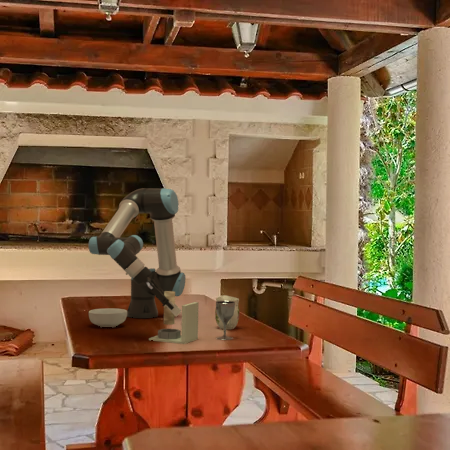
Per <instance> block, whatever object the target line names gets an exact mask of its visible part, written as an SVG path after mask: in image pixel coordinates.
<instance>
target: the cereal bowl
mask: <svg viewBox="0 0 450 450" xmlns="http://www.w3.org/2000/svg"><path fill="white" fill-rule="evenodd" d="M127 310H128V309H123V308H114V307H113V308H108V307H107V308H95V309H91V310H89V311H88V319H89V321H90V322H91V323H92V324H94V325H96V326H98V327H99V326H100V328H102V327H112V328H116V326H117V327H118V326H119V325H120V324H123V323H124V322H125V321H126V320H127V317H128V316H127Z"/></svg>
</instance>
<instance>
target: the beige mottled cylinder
mask: <svg viewBox="0 0 450 450" xmlns="http://www.w3.org/2000/svg"><path fill="white" fill-rule="evenodd" d="M164 295H165V297H166V298H167V299H169V301H171V302H172V303H173V304H174V305H175V304H176V296H175V292H174V291H165V292H164ZM175 319H176V316H175V315H174V314H173V313H172V312H171V311H170V310H169V309H168V308H167V307H166V306H163V325H166V326H167V325H169V326H170V325H175V322H176V321H175Z"/></svg>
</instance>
